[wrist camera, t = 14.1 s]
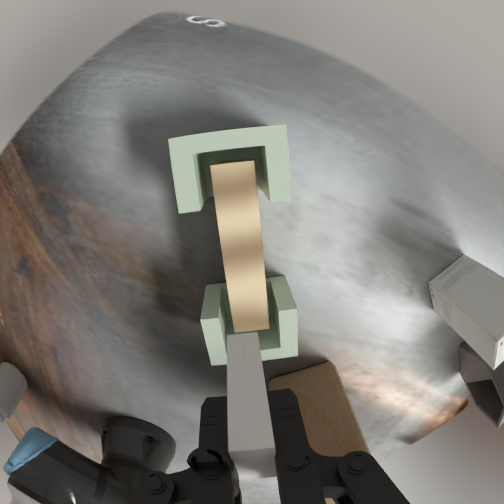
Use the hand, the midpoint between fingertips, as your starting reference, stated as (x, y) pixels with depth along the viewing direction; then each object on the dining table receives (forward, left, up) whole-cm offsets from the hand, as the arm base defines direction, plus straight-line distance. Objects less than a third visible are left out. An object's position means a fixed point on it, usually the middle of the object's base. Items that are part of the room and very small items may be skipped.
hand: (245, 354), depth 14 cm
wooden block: (+7, -25, -18) cm, 32 cm away
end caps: (0, 0, -18) cm, 18 cm away
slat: (0, +1, -17) cm, 17 cm away
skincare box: (+30, -10, -18) cm, 37 cm away
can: (-49, -22, -18) cm, 56 cm away
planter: (+44, -29, -18) cm, 56 cm away
